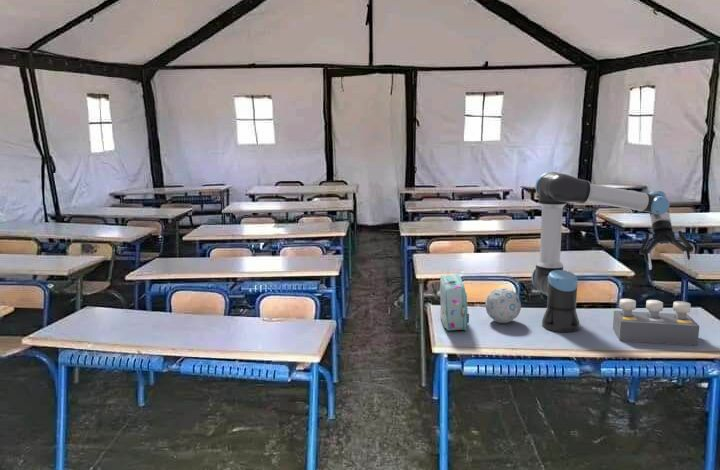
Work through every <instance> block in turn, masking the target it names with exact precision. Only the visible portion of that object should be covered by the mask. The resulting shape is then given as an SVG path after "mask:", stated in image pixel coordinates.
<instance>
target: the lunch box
mask: <svg viewBox="0 0 720 470" xmlns="http://www.w3.org/2000/svg"><path fill="white" fill-rule="evenodd" d="M439 279H440V281H439V282H440V283H439V284H440V285H439V287H440V291H439V293H440V294H439V295H440V299H439V300H440V301H439V302H440V311H439V313H440V314H439V315H440V319H441V322H442V325H443V327H444V328H446V329H447V330H446V329H445V330H446V331H448V332H449V331H460V330H461V331H462V330H464V331H465V330H466V331H467V329H468V324H469V322H470V313H468V312H469V311H468V295H467V292H466V287H465V284H464V283H463V280H462V276H461V275H460V274H458V273H457V274H451V275H449V274H448V275H441V277H440V278H439Z"/></svg>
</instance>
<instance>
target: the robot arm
mask: <svg viewBox="0 0 720 470" xmlns="http://www.w3.org/2000/svg"><path fill="white" fill-rule="evenodd" d="M534 185H535V188H534V189H535V191H536V193H537V195H538V204H539V206H540V207H541V222H540V224H541V225H540V242H539V243H540V247H539V260H538V261H537V262H536V263H535V268H534V270H533V271H532V274H531V283H532V285H533V286H534V287H535V288H536V290H537V291H539V292H540V293H542V294H544V295H545V296H547V298H546V299H547V303H546V309H545V312H544V313H543V317H542V320H541V326H542V327H543V328H544V329H546V330H548V331H552V332H556V333H557V332H558V333H572V332H573V333H574V332H577V331H579V330H580V326H581V325H580V320H579V317H578V313H577V298H578V296H577V295H578V285H579V282H578V277H577V275H576V274H575V273H573V272H571V271H567V270H566V269H565V270H564V264H563V263H562V261H561V250H562V249H561V247H562V245H561V244H562V229H563V228H562V227H563V225H562V224H563V211H564V209H563V208H564V207H565V206H566V205H567V203H575V204H576V203H578V204H586V203H593V204H598V205H604V206H609V207H610V206H611V207H614V208H616V207H617V208H622V209H627V210H633V211H639V212H645V213H649V216H650V221H651V222H650V223H651V228H652V234H651V233H649V232H646V233H645V237H644V240H643V243H642V245H641V247H640V249H639V255H640V256H644V261H645V263H647V264H648V269H649V270H650V271H651V270H652V269H653V265H652V259H651V252H652V251H653V249H654V248H655V247H656V246H657V245H658V244H660V245H663V244H672V245H674V246H675V247H676V248H678V249H679V250H681V251H682V252H683V254H682V255H683V259H684V264H685V269H688V268H689V266H690V265H689V261H690V259H691V254H690V253H693V251H694V248H695V247H694V246H693V245H692V243H690V241H688V239H687V238H686V237H685V236H684V235H683V231H682V230H679V231H677V232H674V231H673V225H672V220H671V219H672V218H671V213H670V210H669V209H670V204H671V203H670V200H669V199H668V198H667V195H666V193H665V192H664V191H662V190H653V191H650V192H649V193H647V192H641V191H638V190H633V189H629V190H628V189H622V188H617V187H611V186H606V185H605V186H604V185H601V184H600V185H599V184H594V183H591V182H590V181H589V180H586V179H581V178H578V177H574V176H572V175H569V174H566V173H560V172H555V171H548V172H545V173H543V174H541V175H540V176H539V177H538V178H537V179H536V181H535V184H534ZM675 237H676V238H677V239H678V240H679V241H678V240H677V239H676V238H675ZM651 239H654V240H653V241H652V242H651V244H650V245H649V246H648V247H647V245H648V243H649V240H651ZM646 247H647V248H646Z"/></svg>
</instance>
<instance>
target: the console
mask: <svg viewBox="0 0 720 470" xmlns="http://www.w3.org/2000/svg"><path fill="white" fill-rule="evenodd" d="M675 317H676V313H669V312H668V313H666V312H659V318H649V311H648V312H647V311H632V317H628V316H622V310H613V320H612V321H613V322H612V330H613V332H614V333H615V335H616V338H617V339H618V340H619V341H620V342H632V343H633V342H634V343H648V344H649V343H650V344H664V345H666V344H667V345H679V346H682V345H683V346H698V345H699V335H700V325H699V324H698V322H696V321H695V320H694V319H693V317H692V316H690V315H689V314H688V313H687V315H686V320H684V319H676V318H675Z"/></svg>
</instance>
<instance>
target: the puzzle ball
mask: <svg viewBox="0 0 720 470" xmlns="http://www.w3.org/2000/svg"><path fill="white" fill-rule="evenodd" d="M484 304H485V309H486V313H487V314H488V317H490V319H492V320H493V321H495V322H497V323H501V324H508V323H509V322H512V321H513V320H515V319H516V318H518V317H519V314H520V313H521V308H522V305H521V304H522V303H521V299H520V298H519V296H518V295H517V293H516V292H514V291H513V290H511V289H508V288H502V287H501V288H497V289H494V290H492V291H490V293H489V294H488V296H487V297H486V299H485V303H484Z"/></svg>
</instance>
